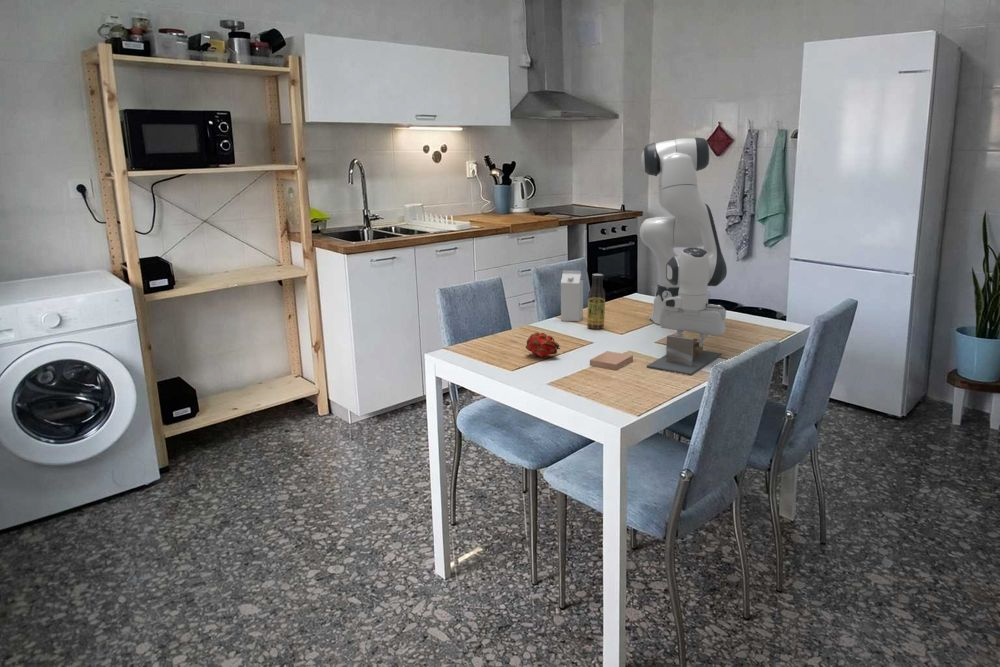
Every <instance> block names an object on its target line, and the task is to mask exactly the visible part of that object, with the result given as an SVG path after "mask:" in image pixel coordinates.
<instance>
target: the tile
mask: <svg viewBox="0 0 1000 667" xmlns="http://www.w3.org/2000/svg"><path fill="white" fill-rule="evenodd" d="M631 361H632V362H633V361H634V355H633V354H627V353H621V352H616V351H608V350H606V351H605V352H602V353H601V354H598V355H597V356H594V357H593V358H590V359H589V366H590V365H591V366H590V367H595V366H596V368H601V367H602V369H606V368H608V369H607V370H612V369H614V370H613V371H618V370H620V369H621V368H623V367H624V365H625V366H627V365H628V364H630V363H632V362H631ZM629 362H630V363H629ZM626 364H627V365H626ZM622 366H623V367H622ZM617 369H618V370H617Z"/></svg>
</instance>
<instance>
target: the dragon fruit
mask: <svg viewBox="0 0 1000 667" xmlns="http://www.w3.org/2000/svg"><path fill="white" fill-rule="evenodd" d="M559 344H560V343H558V342H557V341H555V338H554V337H553V336H550V335H547V334H546V333H544V332H541V333H540V332H537V331H536V332H534V333H532V334H530V336H529V337H528V339H527V340H526V346H525V348H526V350H527V351H528V352H531V353H532V356H533V357H534V358H536V357H537V356H538V357H541V358H544V357H547V358H548V359H552V356H549V355H557V353H558V350H561V346H560V345H559ZM544 359H545V358H544Z"/></svg>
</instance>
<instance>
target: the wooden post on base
mask: <svg viewBox="0 0 1000 667" xmlns="http://www.w3.org/2000/svg"><path fill="white" fill-rule="evenodd" d="M700 339H701V338H700ZM700 339H699V338H690V337H688V338H687V337H684V338H683V337H678V336H676V335H669V334H668V335H667V336H666V351H665V353H666V354H665V355H666V361H667V362H673V363H679V364H685V365H690V366H691V365H692V362H693V358H694V357H696V356H697V355H699V354H700V353H702V352H703V350H704V345H703V346H702V347H696V341H698V340H700Z"/></svg>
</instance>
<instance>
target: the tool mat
mask: <svg viewBox="0 0 1000 667" xmlns="http://www.w3.org/2000/svg"><path fill="white" fill-rule="evenodd" d="M721 355H722V356H723V353H722V352H716V351H709V350H704V349H703V352H702V353H700V354H699V355H697V356H696V357H694V358H693V362H692V365H691V366H690V365H685V364H679V363H673V362H667V361H666V354H665V355H663V356H662V357H660V358H657V359H656V360H655V361H653V362H651V363H649V364H647V365H646V368H647V367H648V368H647V369H652V368H654V369H653V370H657V369H659V370H658V371H663V370H665V371H664V372H668V371H670V373H674V372H676V373H675V374H679V373H682V374H681V375H685V374H687V376H690V375H691V376H693V375H694V374H695V373H698V372H699V371H700V370H702V369H703V368H705V367H706V366H708V365H709V364H711V363H713V362H714V361H715V360H717V359H719V358H720V357H722V356H721ZM719 356H720V357H719ZM718 357H719V358H718ZM692 374H693V375H692Z"/></svg>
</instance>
